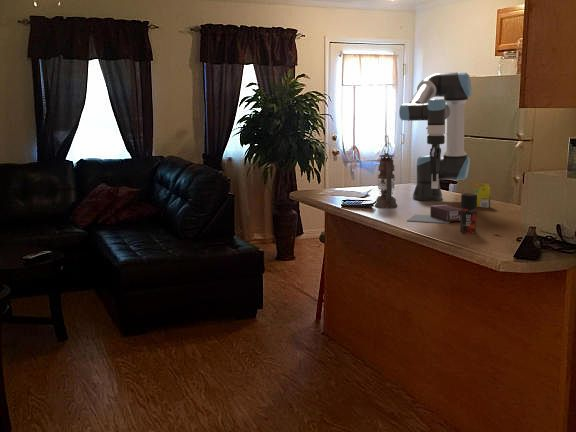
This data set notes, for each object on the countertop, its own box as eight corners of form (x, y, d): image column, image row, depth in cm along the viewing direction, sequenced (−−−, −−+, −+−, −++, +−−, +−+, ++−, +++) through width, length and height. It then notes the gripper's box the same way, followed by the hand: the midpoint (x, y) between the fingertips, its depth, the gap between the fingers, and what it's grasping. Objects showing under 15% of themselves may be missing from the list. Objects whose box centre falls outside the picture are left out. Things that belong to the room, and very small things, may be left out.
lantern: (393, 203, 318) (394, 134, 311) (400, 208, 302) (401, 136, 295) (372, 204, 317) (372, 134, 311) (378, 209, 301) (378, 136, 295)
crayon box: (490, 207, 302) (491, 183, 300) (488, 207, 300) (489, 183, 297) (475, 205, 306) (475, 182, 304) (473, 206, 304) (474, 183, 301)
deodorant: (473, 230, 250) (474, 193, 247) (477, 233, 244) (479, 195, 242) (458, 230, 250) (459, 193, 247) (462, 233, 244) (464, 195, 241)
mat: (415, 215, 285) (415, 214, 284) (455, 217, 277) (455, 216, 277) (406, 221, 271) (407, 220, 271) (449, 223, 264) (449, 222, 264)
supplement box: (429, 216, 280) (448, 222, 265) (429, 205, 279) (448, 211, 264) (446, 214, 282) (466, 220, 267) (447, 204, 282) (466, 209, 267)
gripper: (430, 134, 280) (429, 186, 284) (424, 135, 268) (423, 190, 273) (447, 134, 277) (446, 186, 281) (441, 135, 265) (440, 190, 269)
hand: (434, 188), depth 277 cm, fingers closed
